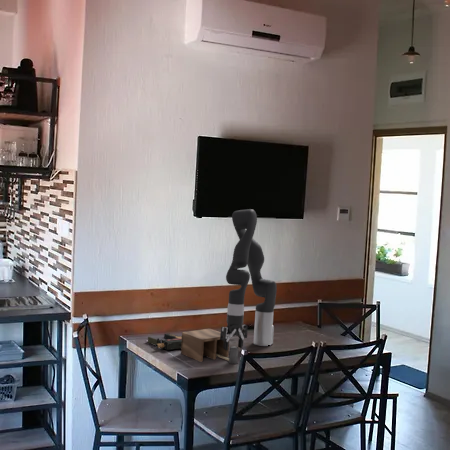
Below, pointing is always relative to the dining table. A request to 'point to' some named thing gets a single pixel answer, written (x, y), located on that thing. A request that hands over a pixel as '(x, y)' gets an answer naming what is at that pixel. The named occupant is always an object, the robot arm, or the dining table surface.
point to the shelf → (202, 344)
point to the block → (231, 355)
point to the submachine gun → (167, 342)
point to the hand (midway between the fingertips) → (233, 348)
